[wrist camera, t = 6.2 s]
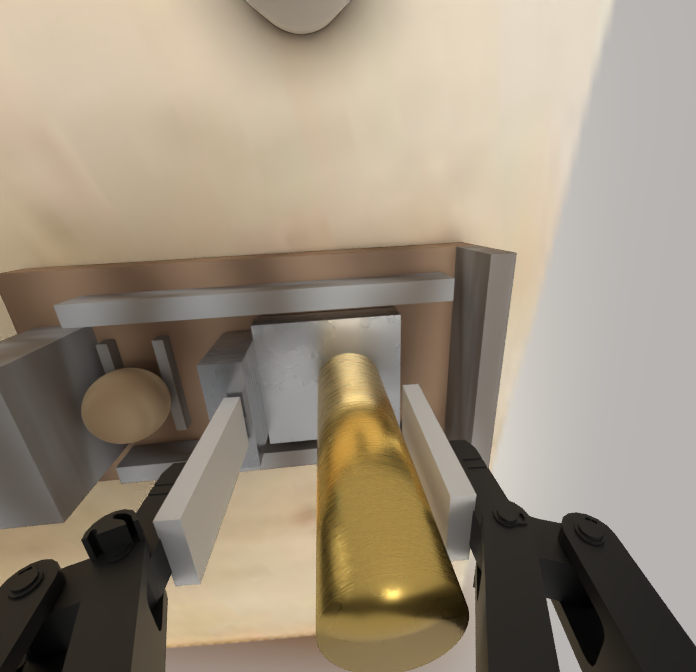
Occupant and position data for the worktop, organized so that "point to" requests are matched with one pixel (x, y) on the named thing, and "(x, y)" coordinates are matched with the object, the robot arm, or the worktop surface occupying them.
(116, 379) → the nut
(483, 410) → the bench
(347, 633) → the lever
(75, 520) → the worktop surface
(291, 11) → the cup
